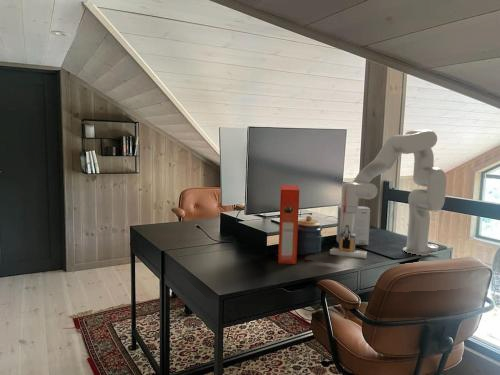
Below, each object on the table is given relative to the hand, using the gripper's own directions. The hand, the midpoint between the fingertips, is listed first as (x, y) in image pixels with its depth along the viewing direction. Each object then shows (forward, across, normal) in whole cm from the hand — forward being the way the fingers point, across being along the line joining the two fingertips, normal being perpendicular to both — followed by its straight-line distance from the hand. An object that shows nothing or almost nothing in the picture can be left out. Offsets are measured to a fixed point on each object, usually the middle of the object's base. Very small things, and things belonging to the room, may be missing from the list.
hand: (346, 245), depth 183 cm
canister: (+5, +1, -18) cm, 19 cm away
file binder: (+5, +14, -25) cm, 29 cm away
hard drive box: (+5, -22, +1) cm, 22 cm away
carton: (+3, 0, 0) cm, 3 cm away
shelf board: (+5, -1, +1) cm, 5 cm away
